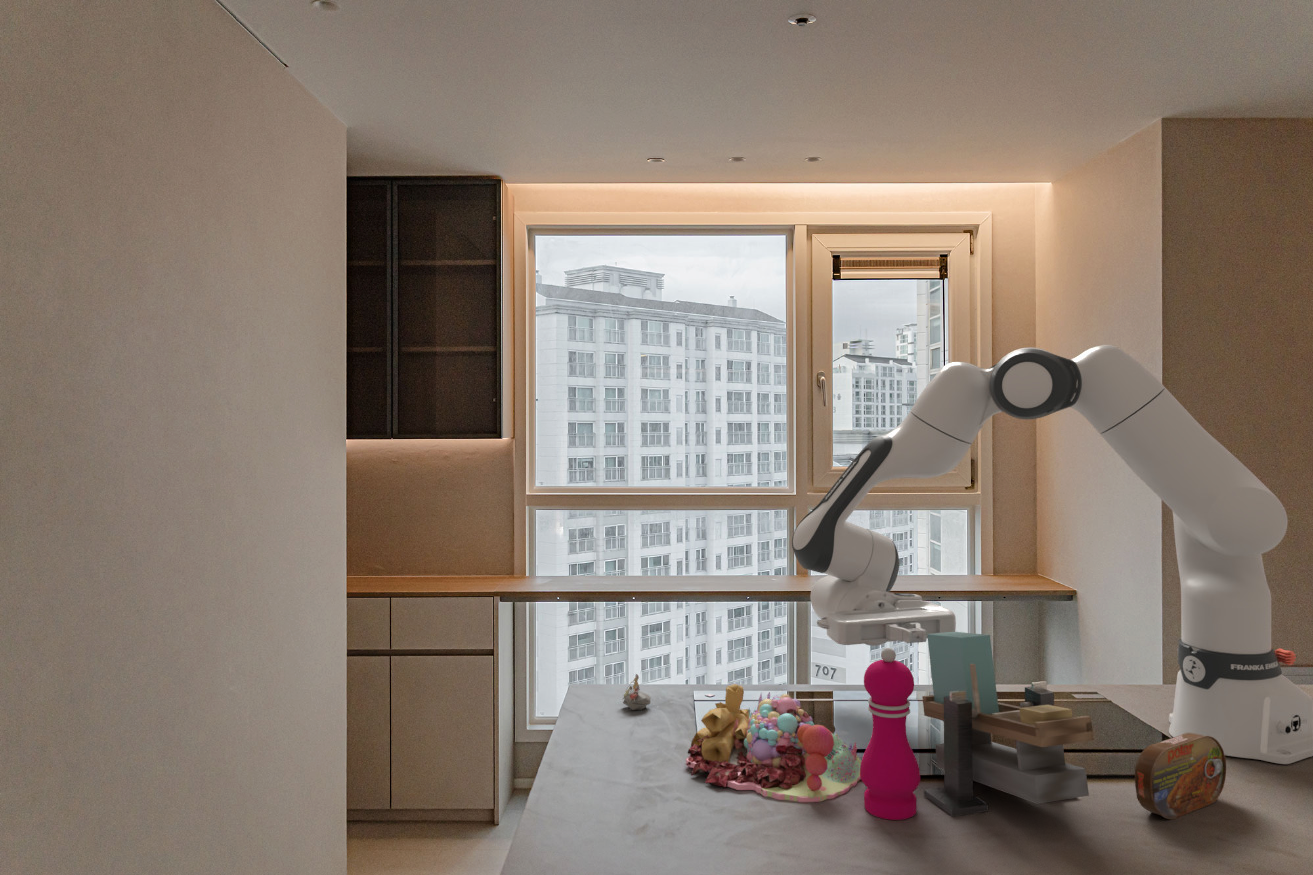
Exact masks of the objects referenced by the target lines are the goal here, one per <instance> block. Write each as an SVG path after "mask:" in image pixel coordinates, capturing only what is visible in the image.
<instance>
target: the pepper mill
mask: <svg viewBox="0 0 1313 875" xmlns="http://www.w3.org/2000/svg"><path fill="white" fill-rule="evenodd" d="M880 657H881V659H879V660H876V661H873V662H872V663H870V664H869V665H868V667H867V668H866V670H865V671H864V676H863V686H864V689H865V691H866V692H867V693H868V695H869V696H870V697H869V698H868V700H867V702H868V707H867V709H868V711H869V712H870V713H871V718H872V733H871V736H870V738H869V739H870V740H869V742H868V744H867V746H866V748H865V751H864V753H863V755H862V758H861V765H860V777H861V780H860V781H862V783H863V784H864V785H865V787H866V789H865V790H864V794H863V801H864V802H863V804H864V809H865V810H866V812H867V813H869V814H871V815H872V816H874V817H877V818H880V819H883V820H891V821H896V820H897V821H900V820H901V821H902V820H907V819H910V818H912V817H913V816H915V815H916V814H917V810H918V809H917V808H918V806H917V804H918V803H917V796H916V794H915V793H914V792H915V791H916V789H917V788H918V787H919V786H920V783H921V772H920V767H919V762H918V759H917V757H916V755H915V754H914V751H913V749H912V747H911V745H910V742H909V740H908V734H907V724H906V723H907V716H908V715H910V714H911V708H910V706H911V702H910V700H909V699H908V698H910V696H911V695H912V694H913V693H914V689H915V688H914V687H915V680H914V674H912V671H911V670H910V669H909V667H908V666H907V665H905V663H903V662H901V661H898V660H896V657H897V654H896V652H895V650H894V649H893V648H891V647H886V648H884V649H883V650H881V652H880Z"/></svg>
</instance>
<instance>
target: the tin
mask: <svg viewBox="0 0 1313 875" xmlns="http://www.w3.org/2000/svg"><path fill="white" fill-rule="evenodd" d="M1226 760H1227V758H1226V755H1225V754H1224V751H1223V749H1222V747H1221V745H1220V743H1219V742H1218V741H1217V740H1216V739H1215V738H1213V737H1210V736H1203V735H1199V734H1194V733H1186V734H1182V735H1179V736H1176V737H1173V736H1172V737H1170V738H1167V739H1165V740H1162V741H1159V742H1155V743H1152V744H1149V745H1148V746H1146V747H1145V748H1144V749H1143V750H1142V752H1141V753H1140V755H1139V756H1138V758H1137V761H1136V763H1135V768H1134V779H1135V780H1134V784H1135V786H1134V787H1135V793H1136V799H1137V801H1138V803H1139V804H1140V806H1141V807H1142V808H1143V809H1144V810H1146V811H1148V812H1150V813H1153V814H1155V815H1158V816H1161V817H1163V818H1164V819H1167V820H1175V819H1178V818H1180V817H1182V816H1186V815H1188V814H1190V813H1193V812H1195V811H1197V810H1200V809H1203V808H1205V807H1208V806H1210V805H1212V804H1214V803H1216V801H1217V800H1218V799H1219V797H1220V795H1221V794H1222V792H1223V790H1224V786H1225V782H1226V779H1227V778H1226V777H1227V761H1226Z"/></svg>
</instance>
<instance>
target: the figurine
mask: <svg viewBox="0 0 1313 875" xmlns="http://www.w3.org/2000/svg"><path fill="white" fill-rule="evenodd" d="M638 680H640V677H639V675H638V674H637V673H635V678H634V679H633V680H632V681H630V683H629V684H628V686H627V688H626V689H625V690H624V694H623V695H622V696H623V697H622V700H623V702H622V703H623V705H625V706H627V707H628V708H629V709H630V710H632V711H637V710H640V711H641V710H643V709H645V708H647V706H648V705H650V704H651V699H652V697H651V695H649V694H647V693H644V692H642V691H641V689H640V686H639V681H638ZM632 683H633V685H632ZM631 685H632V686H631Z"/></svg>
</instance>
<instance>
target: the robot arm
mask: <svg viewBox="0 0 1313 875" xmlns="http://www.w3.org/2000/svg"><path fill="white" fill-rule="evenodd" d="M1068 408H1071V409H1074V410H1075V411H1077V412H1078V413H1079V414H1081V415H1082V416H1083V417H1084V418H1085V419H1086V420H1087V421H1088V422H1089V424H1090V425H1092V427H1093V428H1094V429H1095V430H1096V431H1097V433H1099V435H1100V436H1101V437H1102V438H1103V440H1105V442H1107V444H1108V445H1109V446H1110V447H1111V448H1112V449H1113V451H1114V452H1116V453H1117V455H1118V456H1119V457H1120V458H1121V459H1122V460H1123V462H1124V463H1125V464H1126V465H1127V466H1128V467H1129V469H1131V470H1132V472H1133V474H1135V475H1136V476H1137V477H1138V478H1139V479H1140V480H1142V481H1143V483H1144V484H1145V485H1146V486H1147V487H1149V489H1150V490H1151V491H1153V493H1155V495H1157V497H1159V499H1160V500H1161V501H1162V502H1163V503H1164V504H1165V505H1166V506H1167V507H1168V508H1169V509H1170V510H1171V511H1172V517H1173V518H1172V519H1173V532H1174V541H1175V550H1176V551H1175V552H1176V559H1177V560H1176V561H1177V568H1178V573H1179V581H1180V582H1179V583H1180V599H1181V600H1180V604H1181V605H1180V606H1181V608H1180V609H1181V610H1180V611H1181V612H1180V614H1181V616H1180V617H1181V618H1180V619H1181V620H1180V622H1181V623H1180V624H1181V626H1180V628H1181V631H1180V632H1181V637H1180V638H1179V640H1178V641H1177V643H1178V644H1177V646H1178V647H1177V650H1176V653H1177V663H1178V665H1179V670H1178V672H1177V676H1176V684H1175V691H1174V692H1175V693H1174V702H1173V711H1172V712H1170V713H1169V715H1168V722H1169V723H1170V726H1169V728H1168V733H1169V734H1170V735H1171V737H1172V738H1173V737H1176V736H1179V735H1182V734H1186V733H1194V734H1199V735H1203V736H1210V737H1213V738H1215V739H1216V740H1217V741H1218V742H1219V743H1220V745H1221V747H1222V749H1223V751H1224V754H1225V756H1228V757H1233V758H1234V757H1235V758H1241V759H1243V758H1244V759H1253V760H1261V761H1264V762H1270V763H1274V764H1280V765H1290V764H1292V763H1296V762H1298V761H1302V760H1304V759H1305V760H1306V759H1307V758H1310V757H1313V697H1311V695H1309V694H1308V693H1306V692H1305V691H1304V690H1302V689H1301V688H1300V687H1298V686H1297V684H1295V683H1294V682H1292V681H1291V680H1290V679H1288V678H1287V677H1286V676H1284V675H1285V674H1283V670H1282V668H1281V665H1280V663H1283V664H1286V665H1289V666H1293V665H1294V664H1295V662H1296V658H1297V657H1296V653H1295V652H1294V651H1292V650H1285V649H1283V648H1282V647H1281V648H1277V649H1274V648H1272V593H1271V591H1270V587H1269V585H1268V580H1267V577H1266V572H1265V568H1264V561H1263V555H1262V554H1265V553H1267V552H1269V551H1272V550H1273V549H1274V548H1276V547H1277V546H1278V545H1279V544H1280V543H1281V541H1282V540H1283V539H1284V537H1285V536H1286V533H1287V530H1288V516H1287V512H1286V509H1285V507H1284V505H1283V504H1282V502H1281V501H1280V499H1279V498H1278V497H1277V495H1276V494H1274V492H1272V491H1271V490H1270V489H1269V488H1268V487H1267V485H1265V484H1264V483H1263V482H1262V481H1261V480H1260V479H1259V478H1258V477H1257V476H1256V475H1255V474H1254V473H1253V472H1252V471H1251V470H1250V469H1249V468H1248V467H1246V466H1245V465H1244V464H1243V462H1242V461H1240V460H1239V459H1238V458H1237V457H1236V456H1234V455H1233V453H1231V452H1230V451H1229V450H1228V449H1227V448H1226V447H1225V446H1224V445H1223V444H1222V443H1220V442H1219V441H1218V440H1217V439H1216V438H1215V437H1213V436H1212V435H1211V434H1210V433H1209V432H1208V431H1207V430H1206V429H1205V428H1204V427H1203V426H1202V425H1201V424H1200V423H1199V422H1198V421H1197V420H1196V418H1194V417H1193V416H1192V415H1191V414H1190V412H1189V411H1188V410H1187V409H1186V408H1185V406H1183V405H1182V404H1181V403H1180V401H1178V400H1177V398H1176V397H1175V396H1174V395H1173V394H1172V393H1171V392H1170V391H1169V390H1168V389H1167V388H1166V387H1165V386H1164V384H1162V382H1161V381H1159V379H1158V378H1157V377H1156V376H1155V375H1154V374H1152V373H1151V371H1149V370H1148V369H1147V368H1146V367H1145V366H1144V365H1142V363H1140V362H1139V361H1137V360H1136V359H1135V358H1134V357H1132V356H1131V355H1130V354H1128V353H1127V352H1126V351H1124V350H1123V349H1122V348H1119V347H1117V346H1116V345H1111V344H1102V345H1097V346H1094V347H1093V346H1092V347H1090V348H1088V349H1086V350H1084V351H1083V352H1082V353H1080V354H1079V355H1077V356H1076V357H1073V358H1071V359H1070V358H1066V357H1063V356H1060V355H1057V354H1054V353H1052V352H1050V351H1048V350H1045V349H1043V348H1040V347H1032V346H1031V347H1022V348H1018V349H1015V350H1013V351H1011V352H1009V353H1007V354H1006V355H1004V356H1003V357H1002V358H1001V359H1000V360H999V361H998V362H997V363H996V364H994V365H992V366H990V367H989V368H983V367H979V366H977V365H975V364H972V363H971V362H970V363H969V362H966V361H965V362H964V361H953V362H949V363H947V364H945V365H943V366H942V367H941V368H940V369H939V371H938V372H937V373H936V374H935V375H934V376H933V378H932V379H931V380H930V381H929V383H928V384H927V385H926V387H925V388H924V389H923V390H922V391H921V393H920V395H919V396H918V398H917V399H916V400H915V402H914V404H913V406H912V407H911V408H910V411H909V413H907V415H906V417H905V418H904V420H902V421H901V423H900V424H899V425H897V426H896V427H895V428H894V429H892V430H890V431H889V432H888V433H886V434H883V435H877V436H876V437H874V438H872V439H871V440H870V441H869V442H868V443H867V444H866V445H865V446H864V447H863V448H862V450H860V451H859V453H858V454H857V455H856V456H855V458H853V460H852V461H851V462H850V464H849V465H848V466H847V468H846V469H845V470H844V471H843V473H842V474H841V475H840V476H839V477H838V479H837V480H836V481H835V483H834V484H833V485H832V487H831V488H830V489H829V490H828V491H827V493H826V494H825V495H824V497H823V498H822V499H821V500H820V501H819V503H818V504H817V505H816V506H814V508H813V509H812V510H811V511H810V512H808V513H807V514H806V515H805V516H804V517H803V518H802V520H800V522H799V523H798V524H797V526H796V527H795V529H794V531H793V535H792V538H791V548H792V550H793V554H794V556H795V558H796V560H797V561H798V563H799V565H800V566H801V568H803V569H805V570H809V571H813V572H816V573H820V574H824V575H825V574H826V576H823V577H821V578H818V580H817V581H816V582H815V583H813V585H812V588H811V591H810V603H811V606H812V610H813V611H814V612H815V614H816V615H817V617H818V618H819V619H817V621H816V625H817V626H818V627H819V628H821V629H824V630H826V635H827V637H829V639H831V641H833V642H835V643H836V644H837V645H838V644H839V645H841V646H851V645H852V646H854V645H867V646H870V647H871V646H872V647H873V646H874V647H877V646H881V645H884V644H886V643H889V642H891V643H892V642H903V643H906V644H915V643H926V642H927V641H928V637H927V634H935V633H945V632H957V628H956V627H957V625H956V624H957V619H956V618H957V617H956V614H955V612H954V611H952V610H950V609H948V608H946V607H945V606H941V605H939V604H937V603H934V602H931V601H928V600H923V597H922V596H921V595H919V594H915V593H901V592H891V590H892V589H893V587H894V585H895V582H896V581H897V578H898V575H899V570H900V558H899V551H898V548H897V547H896V544H895V543H894V540H893V539H891V537H888V536H886V535H884V534H880V533H879V532H875V531H873V530H871V529H868V528H864V527H862V526H859V525H857V524H854V523H852V522H849V521H847V520H848V518H849V517H850V516H851V515H852V514H853V512H854V511H855V509H857V507H858V506H859V504H860V503H862V501H863V499H864V498H865V497H866V496H867V495H868V493H869V492H870V491H871V490H872V489H873V488H874V487H875V486H877V485H878V484H880V483H882V482H885V481H890V480H896V479H931V478H938V477H940V476H944V475H945V474H948V473H950V472H952V471H953V470H954V469H955V468H957V466H958V465H959V464H960V463H961V462H962V461H963V459H964V457H965V456H966V454H967V453H968V451H969V449H970V448H971V445H972V444H973V443H974V442H975V439H976V438H977V436H978V434H979V432H980V431H981V429H982V428H983V427H984V425H985V424H986V422H987V421H988V420H989V419H990V418H992V417H993V416H995V415H996V414H1000V413H1005V414H1006V415H1008V416H1009V417H1010V416H1011V417H1012V418H1016V419H1019V420H1027V421H1028V420H1036V419H1041V418H1044V417H1047V416H1049V415H1052V414H1054V413H1056V412H1059V411H1063V410H1066V409H1068Z"/></svg>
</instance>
